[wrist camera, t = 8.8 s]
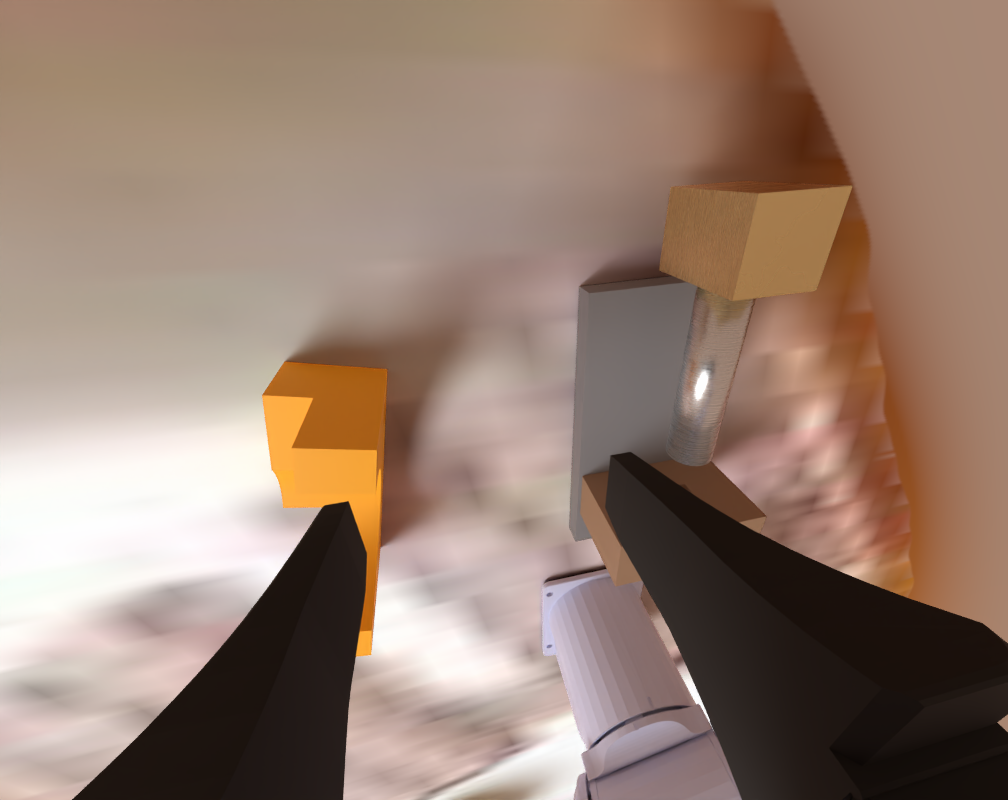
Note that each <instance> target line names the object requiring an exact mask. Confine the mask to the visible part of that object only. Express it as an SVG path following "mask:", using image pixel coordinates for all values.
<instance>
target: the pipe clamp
mask: <svg viewBox="0 0 1008 800" xmlns="http://www.w3.org/2000/svg"><path fill="white" fill-rule="evenodd" d="M386 394H387V369H379V368H365V367H352V366H338V365H324V364H311V363H297V362H284V363H283V365H282V366H281V368H280V369H279V371H278V372H277V374H276V375H275V377H274V378H273V380H272V381H271V383H270V384H269V386H268V387H267V389H266V390H265V392H264V393H263V395H262V398H263V406H264V414H265V421H266V429H267V437H268V445H269V453H270V460H271V468H272V470H273V472H274V473H275V474H276V477H277V479H278V481H279V484H280V488H281V493H282V500H283V508H302V507H323V506H324V505H329V504H335V503H340V502H346V501H349V503H350V506H351V509H352V512H353V515H354V518H355V520H356V523H357V526H358V529H359V532H360V535H361V537H362V540H363V543H364V546H365V549H366V552H367V574H366V593H365V600H364V607H363V613H362V620H361V626H360V633H359V639H358V645H357V652H356V656H366V655H371V650H372V638H373V627H374V616H375V604H376V593H377V581H378V570H379V558H380V546H381V521H382V496H383V470H384V445H385V420H386Z"/></svg>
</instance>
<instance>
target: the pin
mask: <svg viewBox="0 0 1008 800" xmlns="http://www.w3.org/2000/svg"><path fill="white" fill-rule="evenodd" d="M851 189H852V186H848V185H825V184H802V183H778V182H755V181H738V182H725V183H712V184H700V185H687V186H674V187H671V189H670V196H669V203H668V210H667V217H666V224H665V231H664V238H663V246H662V253H661V260H660V267H659V270H660V271H662V272H664V273H667V274H669V275H672V276H674V277H676V278H679V279H681V280H683V281H686V282H688V283H691V284H693V285H695V286H697V288H696V294H695V299H694V304H693V309H692V314H691V319H690V325H689V330H688V335H687V340H686V345H685V350H684V356H683V361H682V366H681V371H680V376H679V381H678V387H677V392H676V397H675V402H674V407H673V412H672V418H671V423H670V428H669V433H668V438H667V443H666V452H667V454H668V455H669V456H670V457H671V458H672V459H673V460H675V461H677V462H679V463H681V464H684V465H688V466H703V465H706V464H708V463H709V462H710V461H711V459H712V456H713V452H714V449H715V445H716V441H717V438H718V434H719V430H720V427H721V423H722V420H723V416H724V412H725V409H726V405H727V401H728V398H729V394H730V390H731V387H732V383H733V379H734V376H735V372H736V368H737V365H738V361H739V357H740V354H741V350H742V346H743V343H744V339H745V335H746V332H747V328H748V324H749V321H750V317H751V314H752V310H753V306H754V303H755V299H756V298H762V297H770V296H778V295H786V294H794V293H802V292H810V291H816V289H817V287H818V284H819V281H820V278H821V275H822V272H823V269H824V266H825V264H826V261H827V258H828V255H829V252H830V249H831V246H832V244H833V241H834V238H835V235H836V232H837V229H838V226H839V224H840V221H841V218H842V215H843V212H844V209H845V206H846V203H847V201H848V198H849V195H850V192H851Z"/></svg>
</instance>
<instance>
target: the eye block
mask: <svg viewBox="0 0 1008 800" xmlns="http://www.w3.org/2000/svg"><path fill="white" fill-rule="evenodd" d="M696 288H697V286H695V285H693V284H691V283H688V282H686V281H683V280H681V279H679V278H676V277H674V276H668V277H659V278H650V279H641V280H632V281H623V282H614V283H605V284H596V285H587V286H579V307H578V331H577V355H576V379H575V402H574V426H573V450H572V474H571V497H570V521H569V528H570V530H571V532H572V535H573V537H574V539H575V542H576V541H581V540H585V539H590V538H592V539H593V541H594V543H595V545H596V547H597V549H598V552H599V554H600V556H601V558H602V560H603V562H604V564H605V566H606V568H607V570H608V572H609V574H610V576H611V579H612V581H613V583H614V585H615V587H616V586H620V585H625V584H629V583H634V582H638V581H642V580H641V578H640V576H639V574H638V573H637V571H636V569H635V567H634V566H633V564H632V562H631V561H630V559H629V557H628V555H627V553H626V552H625V550H624V548H623V546H622V545H621V543H620V541H619V539H618V537H617V535H616V532H615V530H614V528H613V525H612V523H611V521H610V518H609V516H608V513H607V511H606V508H605V503H606V493H607V484H608V474H609V465H610V455H615V454H621V453H626V452H632V453H633V454H635V455H636V456H638V457H639V458H641V459H642V460H644V461H645V462H647V463H648V464H650V465H651V466H652V467H654V468H655V469H657V470H658V471H660V472H661V473H663V474H664V475H665V476H667V477H668V478H670V479H671V480H673V481H674V482H676V483H677V484H679V485H680V486H682V487H683V488H685V489H686V490H688V491H689V492H691V493H692V494H694V495H695V496H697V497H698V498H700V499H701V500H703V501H705V502H706V503H708V504H709V505H711V506H713V507H714V508H716V509H717V510H719V511H721V512H722V513H724V514H726V515H728V516H729V517H731V518H733V519H734V520H736V521H738V522H739V523H741V524H743V525H745V526H747V527H748V528H750V529H752V530H754V531H756V532H758V533H760V532H761V529H762V527H763V524H764V522H765V519H766V517H767V516H766V515H765V514H764V513H763V512H762V511H761V510H760V509H759V508H758V507H757V506H756V505H755V504H754V503H753V502H752V501H751V500H750V499H749V498H748V497H747V496H746V495H745V494H744V493H743V492H742V491H741V490H740V489H739V488H738V487H737V486H736V485H734V484H733V483H732V482H731V481H730V480H729V479H728V478H727V477H726V476H725V475H724V474H723V473H722V472H721V471H720V470H719V469H718V468H717V467H716V466H715V465H714V464H713V463H712V462H711V461H710V462H709V463H708V464H706V465H703V466H688V465H684V464H681V463H679V462H677V461H675V460H673V459H672V458H671V457H670V456H669V455H668V454H667V452H666V443H667V438H668V433H669V428H670V423H671V418H672V412H673V407H674V402H675V397H676V392H677V387H678V381H679V376H680V371H681V366H682V361H683V356H684V350H685V345H686V340H687V335H688V330H689V325H690V319H691V314H692V309H693V304H694V299H695V294H696Z"/></svg>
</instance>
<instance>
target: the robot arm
mask: <svg viewBox="0 0 1008 800" xmlns="http://www.w3.org/2000/svg"><path fill="white" fill-rule="evenodd" d="M605 508H606V511H607V513H608V516H609V518H610V521H611V523H612V525H613V528H614V530H615V532H616V535H617V537H618V539H619V541H620V543H621V545H622V546H623V548H624V550H625V552H626V553H627V555H628V557H629V559H630V561H631V562H632V564H633V566H634V567H635V569H636V571H637V573H638V574H639V576H640V578H641V580H642V581H638V582H634V583H629V584H625V585H620V586H616V587H615V585H614V583H613V581H612V579H611V576H610V574H609V572H608V570H607V569H604V570H600V571H595V572H590V573H586V574H581V575H576V576H572V577H567V578H563V579H558V580H553V581H549V582H546V583H544V584H543V585H542V650H543V654H544V655H545V656H550V655H555V654H556V656H557V660H558V663H559V666H560V670H561V673H562V677H563V680H564V684H565V687H566V690H567V694H568V697H569V701H570V704H571V708H572V711H573V715H574V718H575V721H576V725H577V728H578V731H579V734H580V736H581V738H582V740H583V742H584V744H585V746H586V749H587V751H586V752H583V753H582V754H581V756H582V760H583V764H584V767H585V771H586V772H585V773H583V774H581V775H579V776H578V779H577V786H576V790H575V793H574V800H1008V732H1007V731H1006V730H1005V729H1003V728H1002V727H1001V726H1000V725H999V724H998V723H997V722H998V721H999V720H1001V719H1002V718H1003V717H1005V716H1006V715H1007V714H1008V643H1007V642H1005V641H1004V640H1003V639H1001V638H1000V637H999V636H998V635H997V634H995V633H994V632H993V631H992V630H990V629H989V628H988V627H987V626H985V625H984V624H983V623H980V622H977V621H974V620H971V619H968V618H965V617H962V616H959V615H956V614H953V613H950V612H947V611H944V610H942V609H939V608H936V607H932V606H929V605H926V604H924V603H921V602H918V601H915V600H912V599H909V598H906V597H903V596H901V595H898V594H895V593H893V592H890V591H888V590H885V589H882V588H880V587H877V586H875V585H872V584H869V583H867V582H864V581H862V580H859V579H857V578H854V577H852V576H849V575H847V574H845V573H842V572H840V571H837V570H835V569H833V568H831V567H828V566H826V565H824V564H822V563H819V562H817V561H815V560H813V559H810V558H808V557H806V556H804V555H802V554H799V553H797V552H795V551H793V550H791V549H789V548H787V547H785V546H783V545H781V544H779V543H777V542H775V541H773V540H771V539H769V538H767V537H765V536H763V535H762V534H760V533H758V532H756V531H754V530H752V529H750V528H748V527H747V526H745V525H743V524H741V523H739V522H738V521H736V520H734V519H733V518H731V517H729V516H728V515H726V514H724V513H722V512H721V511H719V510H717V509H716V508H714V507H713V506H711V505H709V504H708V503H706V502H705V501H703V500H701V499H700V498H698V497H697V496H695V495H694V494H692V493H691V492H689V491H688V490H686V489H685V488H683V487H682V486H680V485H679V484H677V483H676V482H674V481H673V480H671V479H670V478H668V477H667V476H665V475H664V474H663V473H661V472H660V471H658V470H657V469H655V468H654V467H652V466H651V465H650V464H648V463H647V462H645V461H644V460H642V459H641V458H639V457H638V456H636V455H635V454H633V453H632V452H626V453H621V454H615V455H610V465H609V474H608V484H607V493H606V503H605ZM366 574H367V552H366V549H365V546H364V543H363V540H362V537H361V535H360V532H359V529H358V526H357V523H356V520H355V518H354V515H353V512H352V509H351V506H350V503H349V501H346V502H340V503H335V504H329V505H324V506H323V508H322V509H321V510H320V512H319V513H318V515H317V516H316V518H315V519H314V521H313V522H312V524H311V525H310V527H309V528H308V530H307V532H306V533H305V535H304V536H303V538H302V539H301V541H300V542H299V544H298V545H297V547H296V548H295V550H294V551H293V553H292V554H291V556H290V557H289V558H288V560H287V561H286V563H285V564H284V566H283V567H282V568H281V570H280V571H279V573H278V574H277V576H276V577H275V578H274V580H273V581H272V583H271V584H270V585H269V587H268V588H267V589H266V591H265V592H264V593H263V595H262V596H261V597H260V599H259V600H258V601H257V603H256V604H255V605H254V606H253V608H252V609H251V610H250V612H249V613H248V614H247V616H246V617H245V618H244V620H243V621H242V622H241V623H240V625H239V626H238V627H237V628H236V630H235V631H234V632H233V633H232V634H231V636H230V637H229V638H228V639H227V640H226V642H225V643H224V644H223V645H222V646H221V648H220V649H219V650H218V651H217V652H216V653H215V655H214V656H213V657H212V658H211V659H210V660H209V662H208V663H207V664H206V665H205V666H204V667H203V668H202V670H201V671H200V672H199V673H198V674H197V675H196V676H195V677H194V678H193V679H192V681H191V682H190V683H189V684H188V685H187V686H186V687H185V688H184V689H183V690H182V691H181V692H180V693H179V695H178V696H177V697H176V698H175V699H174V700H173V701H172V702H171V703H170V704H169V705H168V706H167V707H166V708H165V709H164V710H163V711H162V712H161V713H160V714H159V715H158V716H157V718H156V719H155V720H154V721H153V722H152V723H151V724H150V725H149V726H148V727H147V728H146V729H145V730H144V731H143V732H142V733H141V734H140V735H139V736H138V737H137V738H136V739H135V740H134V741H133V742H132V743H131V744H130V745H129V746H128V747H127V748H126V749H125V750H124V751H123V752H122V753H121V754H120V755H119V756H118V757H117V758H116V759H114V760H113V761H112V762H111V763H110V764H109V765H108V766H107V767H106V768H105V769H104V770H103V771H102V772H101V773H100V774H99V775H98V776H97V777H96V778H95V779H94V780H92V781H91V782H90V783H89V784H88V785H87V786H86V787H85V788H84V789H83V790H82V791H81V792H80V793H79V794H78V795H77V796H75V797H74V798H73V799H72V800H343V790H344V771H345V753H346V738H347V723H348V708H349V700H350V691H351V683H352V677H353V671H354V664H355V658H356V652H357V645H358V639H359V633H360V626H361V620H362V613H363V607H364V600H365V593H366ZM643 583H644V585H645V586H646V588H647V590H648V592H649V593H650V595H651V597H652V598H653V600H654V602H655V604H656V605H657V607H658V609H659V611H660V612H661V614H662V616H663V618H664V620H665V622H666V624H667V625H668V627H669V629H670V631H671V634H672V636H673V638H674V640H675V642H676V644H677V646H678V649H679V651H680V653H681V655H682V657H683V659H684V662H685V664H686V666H687V668H688V670H689V673H690V675H691V677H692V679H693V682H694V684H695V686H696V689H697V691H698V693H699V695H700V698H701V700H702V702H703V705H704V707H705V709H706V712H707V714H708V716H709V719H710V723H711V725H712V727H711V725H710V723H709V722H708V720H707V718H706V716H705V714H704V712H703V710H702V708H701V706H700V705H699V704H696V703H695V701H694V700H693V698H692V696H691V694H690V692H689V690H688V688H687V686H686V684H685V682H684V681H683V679H682V677H681V675H680V673H679V671H678V669H677V667H676V665H675V663H674V662H673V660H672V658H671V656H670V654H669V652H668V650H667V648H666V646H665V644H664V642H663V641H662V639H661V637H660V635H659V633H658V631H657V629H656V627H655V625H654V623H653V622H652V620H651V618H650V616H649V614H648V612H647V610H646V608H645V606H644V604H643V603H642V601H641V599H640V598H641V593H642V588H643ZM712 728H713V729H712ZM713 730H714V731H713ZM714 732H715V733H714Z"/></svg>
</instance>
